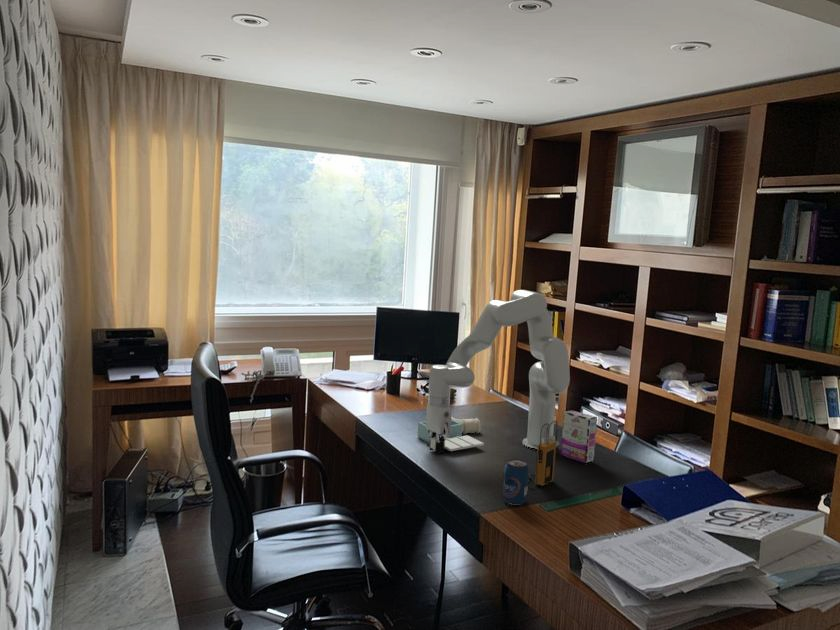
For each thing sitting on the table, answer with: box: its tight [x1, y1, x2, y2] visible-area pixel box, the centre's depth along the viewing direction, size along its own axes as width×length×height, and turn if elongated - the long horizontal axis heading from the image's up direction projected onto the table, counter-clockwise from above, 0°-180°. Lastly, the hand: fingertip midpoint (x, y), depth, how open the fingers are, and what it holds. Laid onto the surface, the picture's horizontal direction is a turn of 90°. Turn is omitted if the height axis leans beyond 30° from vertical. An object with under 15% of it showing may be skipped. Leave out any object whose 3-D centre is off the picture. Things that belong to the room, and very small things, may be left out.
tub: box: [417, 420, 463, 444], centre depth 238 cm, size 9×14×6 cm, turn 123°
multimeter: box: [534, 420, 558, 489], centre depth 200 cm, size 15×10×20 cm
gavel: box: [451, 416, 482, 435], centre depth 259 cm, size 10×6×32 cm
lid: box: [429, 434, 484, 452], centre depth 227 cm, size 10×19×4 cm, turn 123°
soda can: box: [502, 458, 530, 504], centre depth 183 cm, size 7×7×12 cm
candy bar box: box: [560, 409, 598, 463], centre depth 222 cm, size 11×5×16 cm, turn 40°
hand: (436, 450), depth 223 cm, fingers closed on lid, 3 cm apart
